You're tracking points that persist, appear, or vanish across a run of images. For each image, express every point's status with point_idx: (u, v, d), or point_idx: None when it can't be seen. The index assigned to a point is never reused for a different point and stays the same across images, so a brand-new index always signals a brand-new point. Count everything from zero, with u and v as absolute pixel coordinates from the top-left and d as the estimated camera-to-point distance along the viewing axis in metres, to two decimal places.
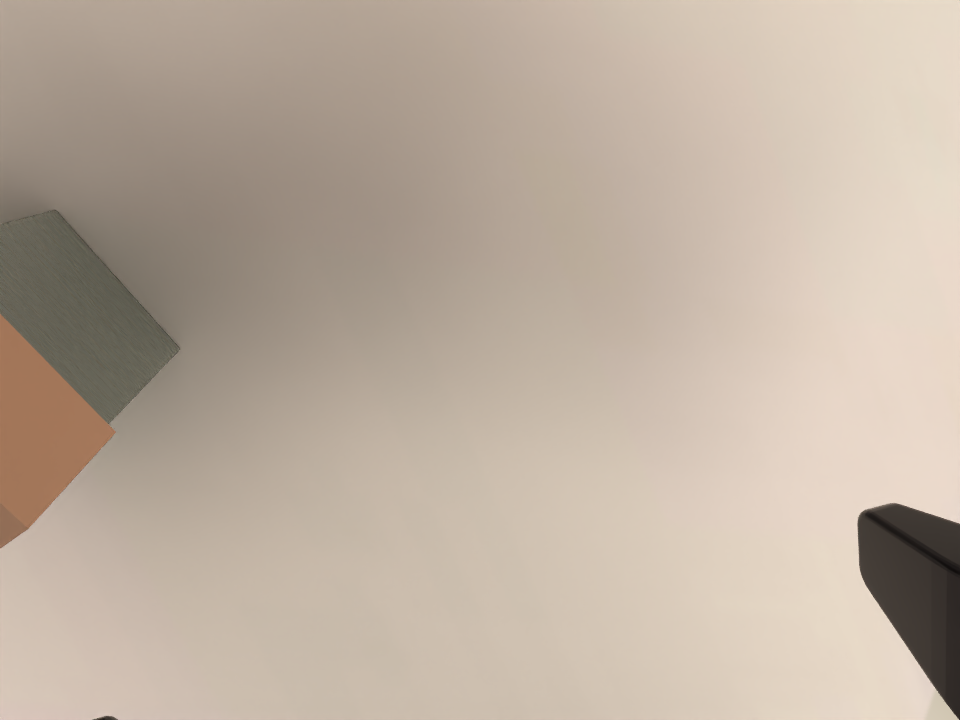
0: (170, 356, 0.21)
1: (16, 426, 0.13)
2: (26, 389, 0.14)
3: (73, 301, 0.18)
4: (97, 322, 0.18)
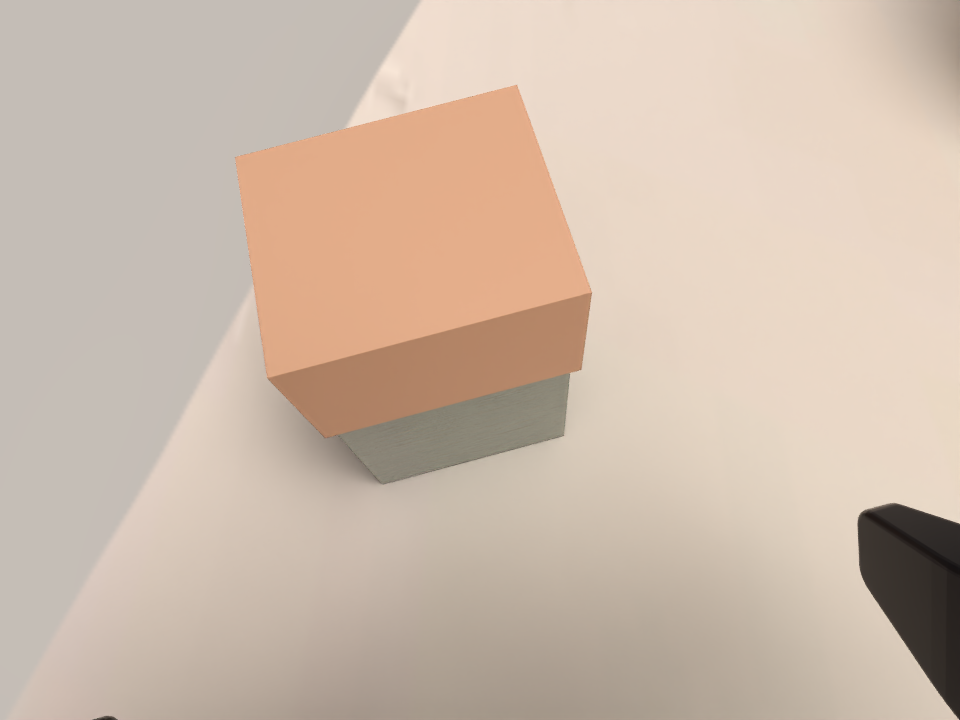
0: None
1: None
2: None
3: None
4: None
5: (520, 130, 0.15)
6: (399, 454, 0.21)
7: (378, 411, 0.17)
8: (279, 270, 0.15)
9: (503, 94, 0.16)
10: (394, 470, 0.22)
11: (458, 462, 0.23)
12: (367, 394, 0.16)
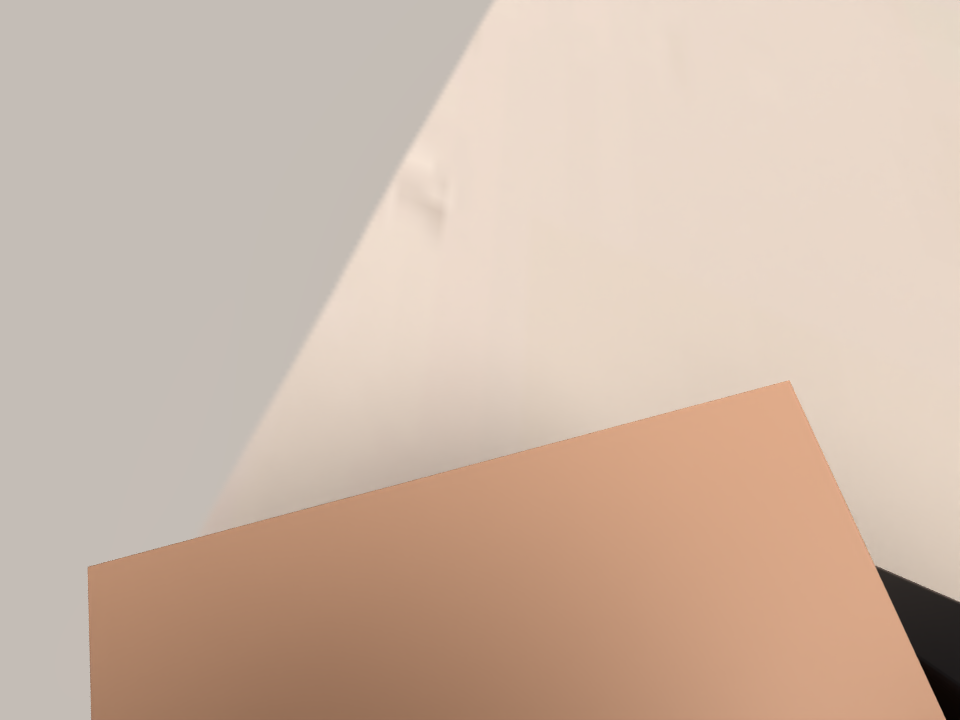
0: None
1: None
2: None
3: None
4: None
5: (820, 522, 0.06)
6: None
7: None
8: None
9: (757, 407, 0.06)
10: None
11: None
12: None
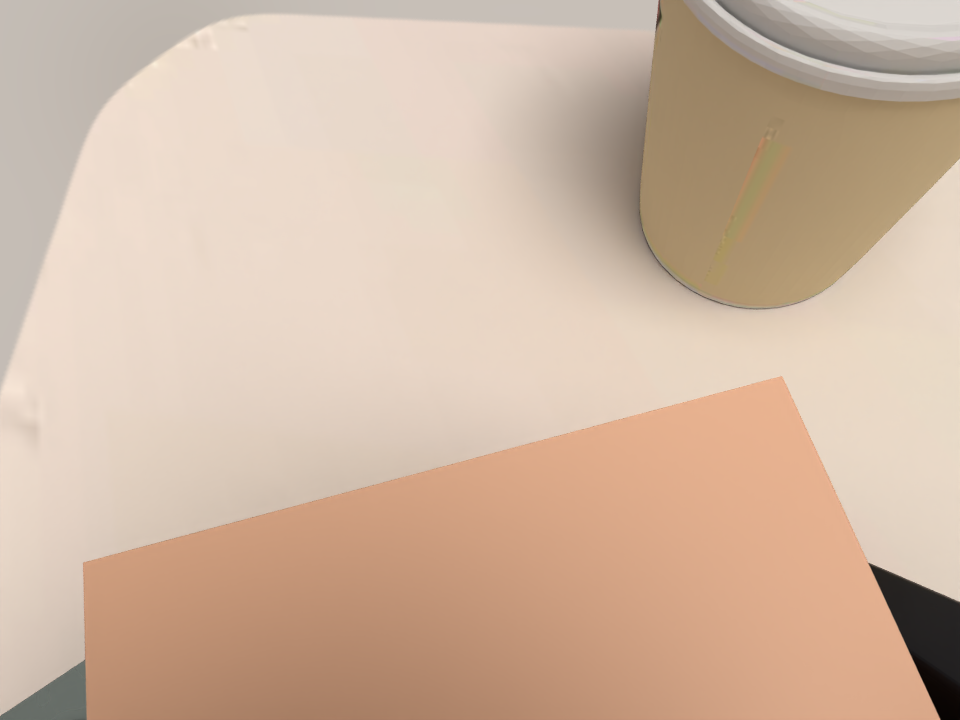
0: None
1: None
2: None
3: None
4: None
5: (812, 517, 0.06)
6: None
7: None
8: None
9: (750, 402, 0.06)
10: None
11: None
12: None
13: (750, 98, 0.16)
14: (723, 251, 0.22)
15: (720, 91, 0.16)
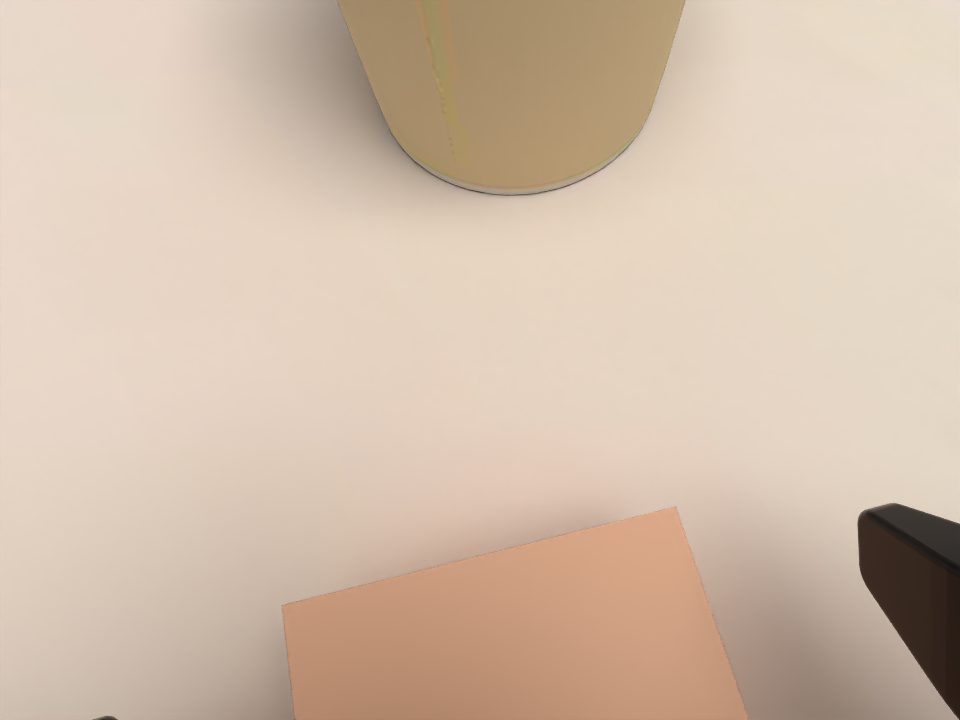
0: None
1: None
2: None
3: None
4: None
5: (685, 589, 0.11)
6: None
7: None
8: None
9: (657, 521, 0.11)
10: None
11: None
12: None
13: None
14: (450, 106, 0.16)
15: None
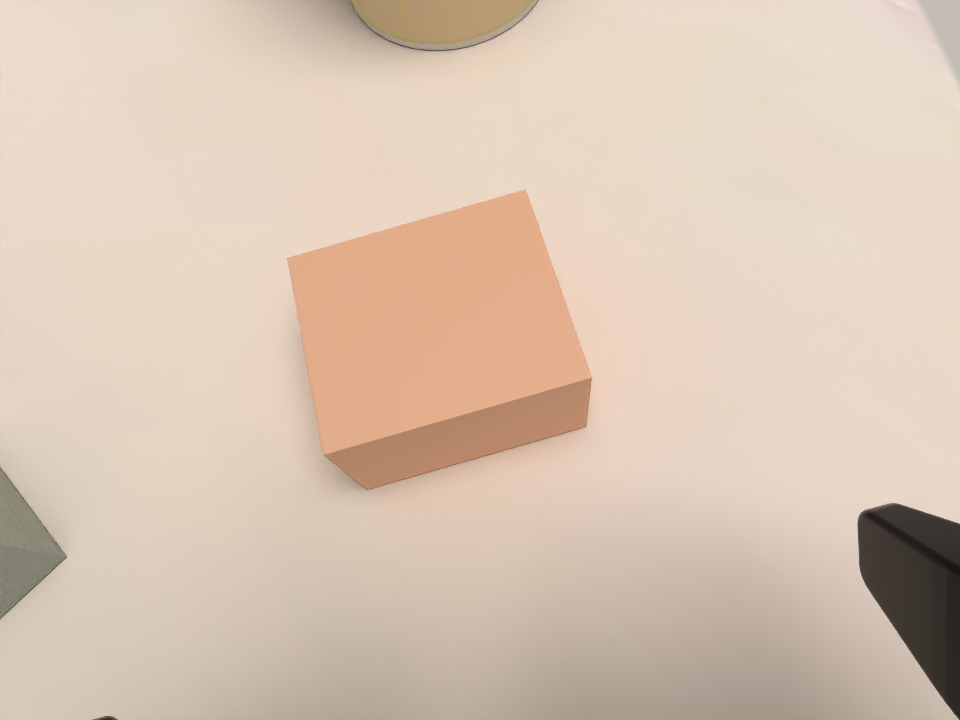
0: (45, 552, 0.20)
1: None
2: None
3: None
4: None
5: (529, 231, 0.18)
6: None
7: (412, 467, 0.19)
8: (330, 359, 0.17)
9: (513, 198, 0.19)
10: None
11: None
12: (403, 457, 0.18)
13: None
14: None
15: None
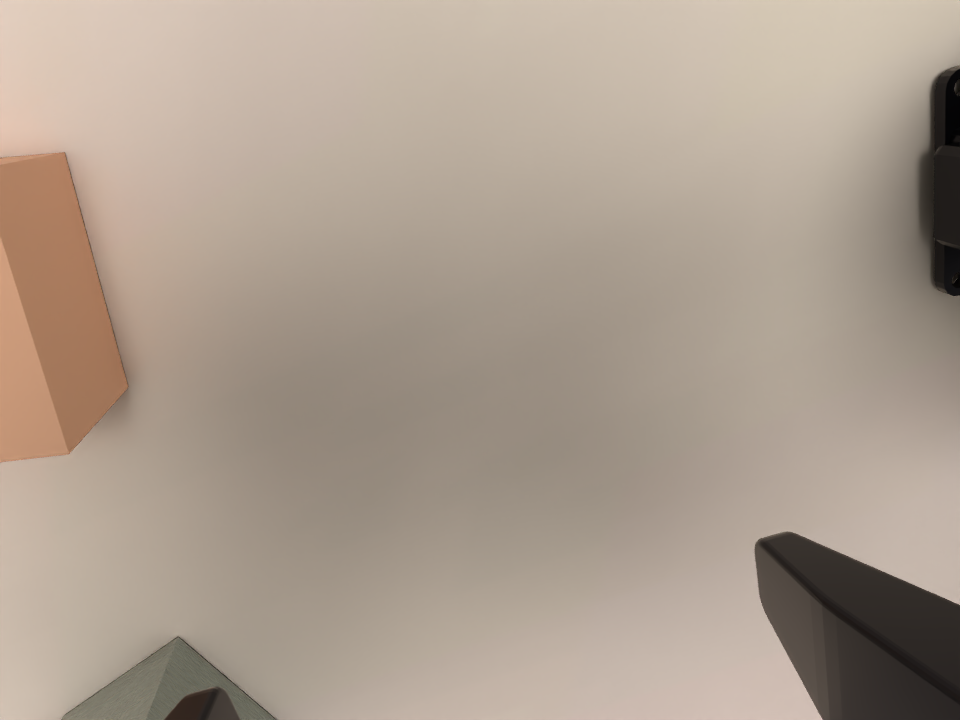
0: (169, 656, 0.23)
1: None
2: None
3: None
4: None
5: None
6: None
7: (103, 347, 0.19)
8: None
9: None
10: None
11: (250, 702, 0.24)
12: (86, 362, 0.18)
13: None
14: None
15: None
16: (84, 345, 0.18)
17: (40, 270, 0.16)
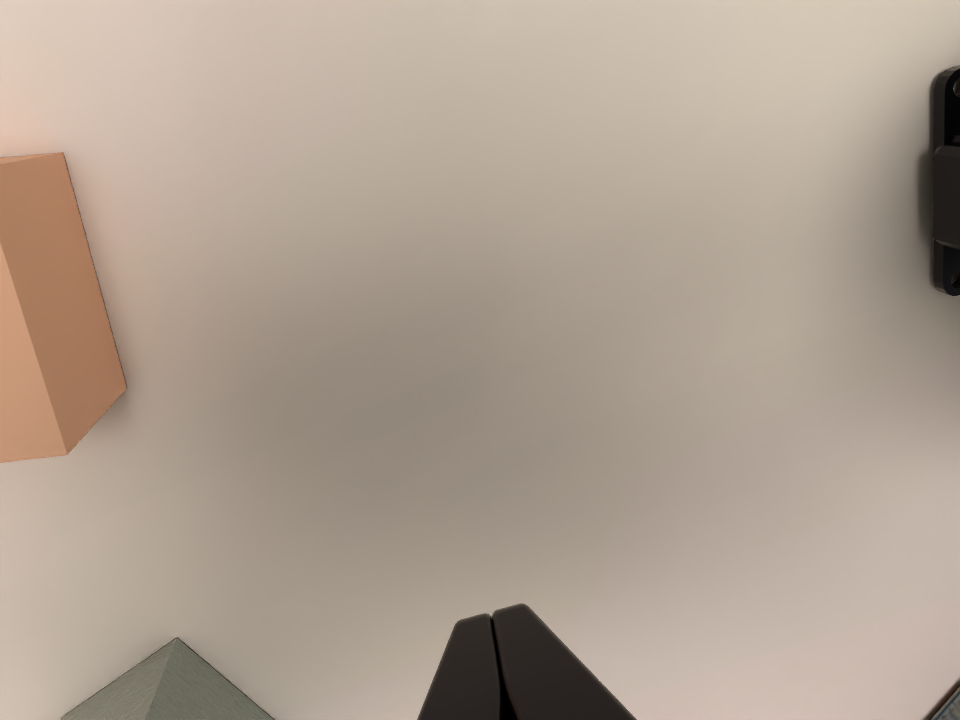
0: (168, 657, 0.23)
1: None
2: None
3: None
4: None
5: None
6: None
7: (101, 348, 0.19)
8: None
9: None
10: None
11: (249, 703, 0.24)
12: (84, 363, 0.18)
13: None
14: None
15: None
16: (82, 345, 0.18)
17: (38, 270, 0.16)
